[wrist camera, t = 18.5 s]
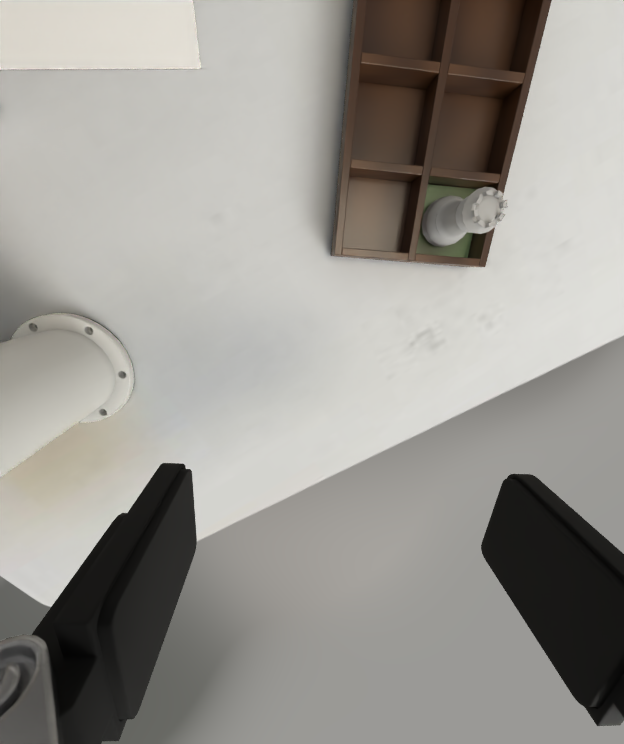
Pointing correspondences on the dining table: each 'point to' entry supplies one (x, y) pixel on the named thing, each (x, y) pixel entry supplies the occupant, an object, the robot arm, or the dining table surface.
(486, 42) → the tray
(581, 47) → the dining table surface
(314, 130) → the dining table surface
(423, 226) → the rook chess piece
